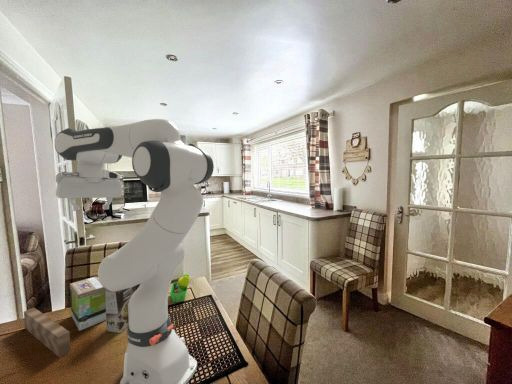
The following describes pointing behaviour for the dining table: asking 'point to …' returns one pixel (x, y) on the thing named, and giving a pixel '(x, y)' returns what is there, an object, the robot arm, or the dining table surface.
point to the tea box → (87, 302)
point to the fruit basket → (180, 289)
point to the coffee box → (118, 309)
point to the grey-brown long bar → (47, 331)
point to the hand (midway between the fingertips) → (92, 210)
